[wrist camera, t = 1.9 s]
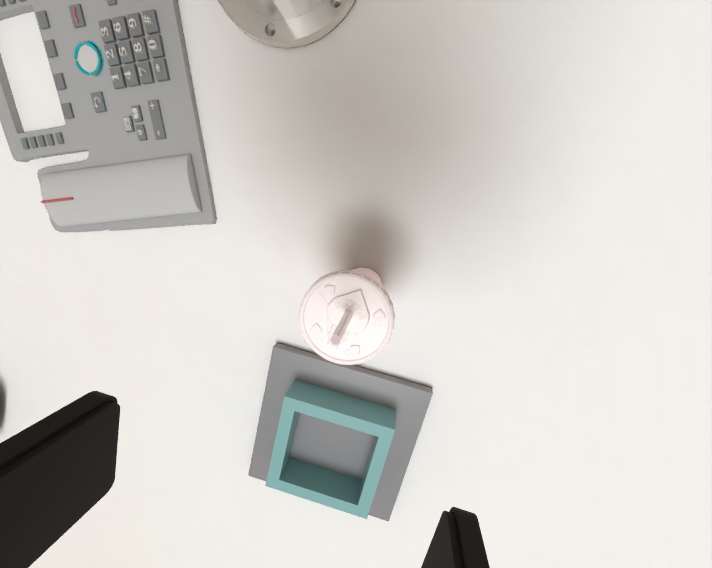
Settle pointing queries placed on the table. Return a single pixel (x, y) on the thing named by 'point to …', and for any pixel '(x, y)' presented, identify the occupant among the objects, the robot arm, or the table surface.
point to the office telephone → (115, 117)
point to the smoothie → (347, 316)
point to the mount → (336, 432)
